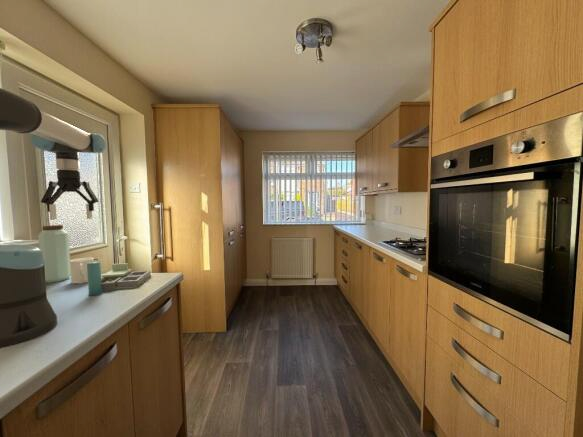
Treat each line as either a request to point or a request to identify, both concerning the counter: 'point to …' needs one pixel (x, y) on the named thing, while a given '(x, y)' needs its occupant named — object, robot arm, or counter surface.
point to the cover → (118, 270)
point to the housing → (125, 281)
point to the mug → (79, 269)
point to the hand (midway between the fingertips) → (71, 219)
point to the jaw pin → (94, 278)
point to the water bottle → (55, 252)
